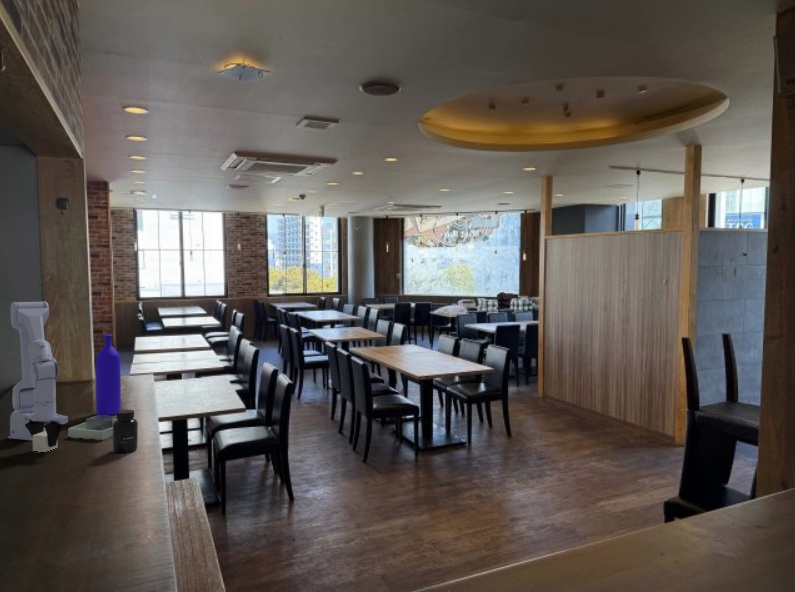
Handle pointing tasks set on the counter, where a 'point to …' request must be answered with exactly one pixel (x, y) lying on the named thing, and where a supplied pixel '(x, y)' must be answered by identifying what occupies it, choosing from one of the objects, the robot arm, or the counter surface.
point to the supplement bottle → (125, 432)
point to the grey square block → (99, 422)
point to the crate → (90, 432)
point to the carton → (42, 442)
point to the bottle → (108, 380)
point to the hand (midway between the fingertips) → (45, 445)
